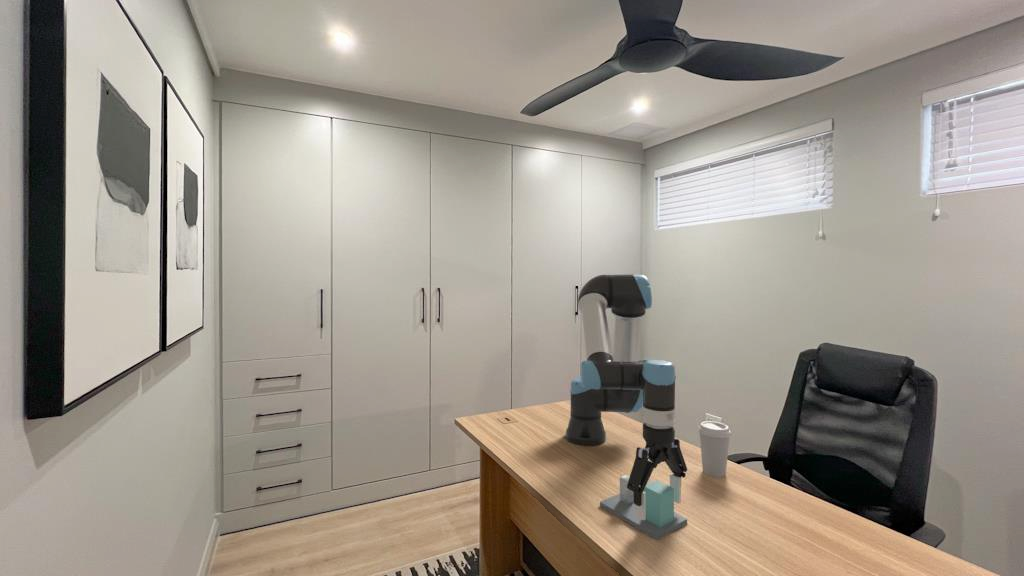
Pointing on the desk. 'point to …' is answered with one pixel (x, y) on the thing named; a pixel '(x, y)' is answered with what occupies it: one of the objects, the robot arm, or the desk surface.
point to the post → (625, 491)
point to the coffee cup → (714, 447)
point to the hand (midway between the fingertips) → (658, 509)
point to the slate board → (645, 526)
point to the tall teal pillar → (659, 503)
